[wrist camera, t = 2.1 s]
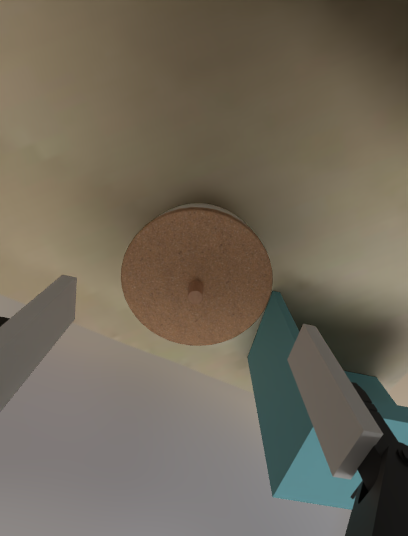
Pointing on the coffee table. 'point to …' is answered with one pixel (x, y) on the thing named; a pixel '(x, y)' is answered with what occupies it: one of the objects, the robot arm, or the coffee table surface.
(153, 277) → the lidded jar
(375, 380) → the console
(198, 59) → the coffee table surface
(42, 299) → the robot arm
